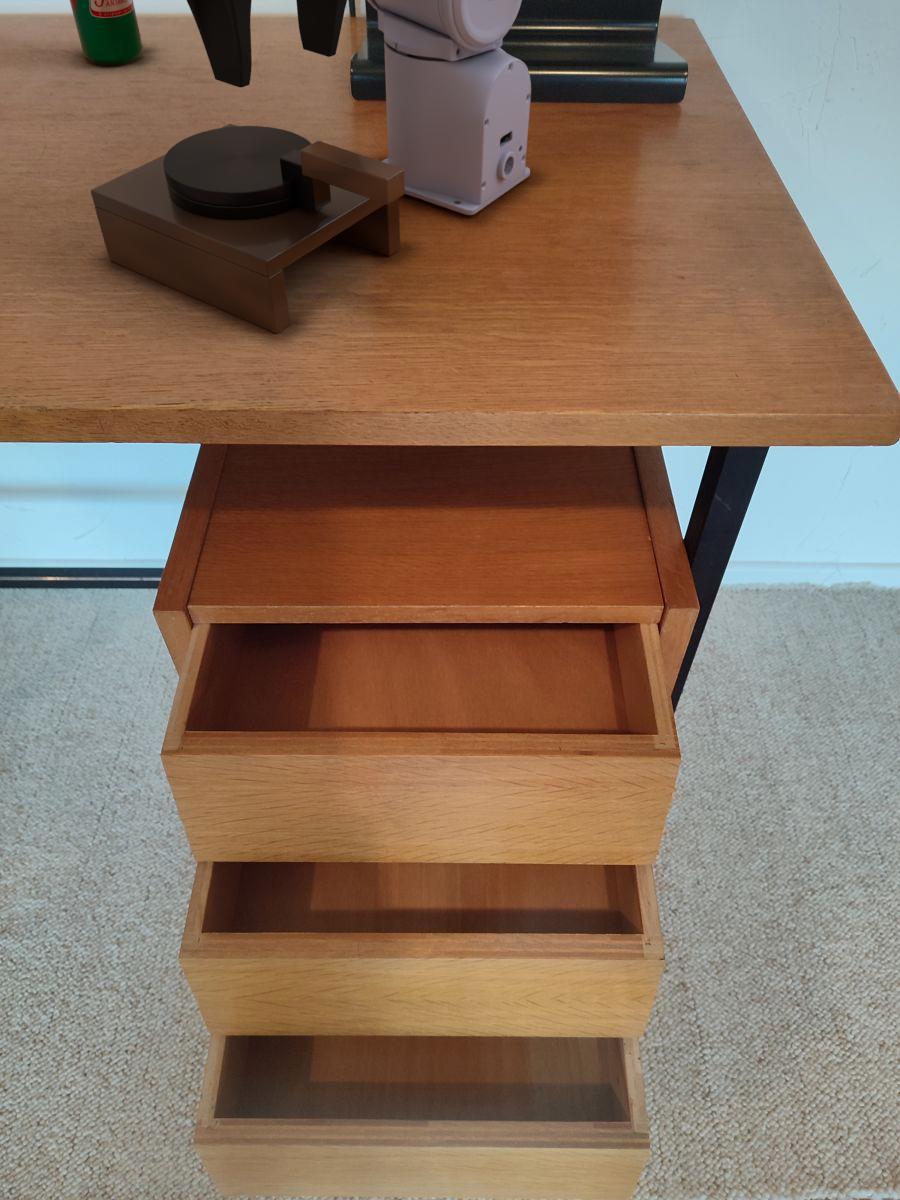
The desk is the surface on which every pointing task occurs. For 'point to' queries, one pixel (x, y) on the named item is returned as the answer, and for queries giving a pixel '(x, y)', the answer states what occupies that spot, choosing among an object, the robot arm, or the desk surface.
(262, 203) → the pan
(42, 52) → the desk surface
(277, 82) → the desk surface
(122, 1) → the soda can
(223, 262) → the brown stand
